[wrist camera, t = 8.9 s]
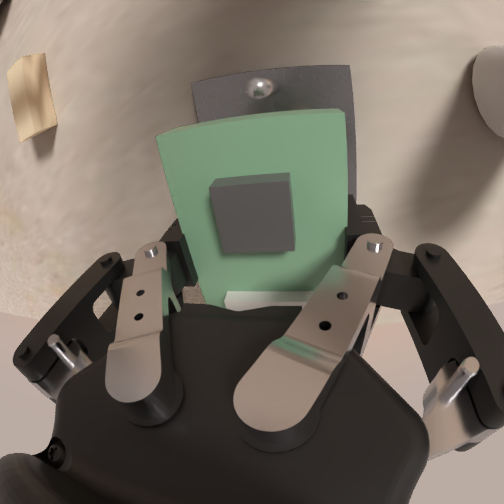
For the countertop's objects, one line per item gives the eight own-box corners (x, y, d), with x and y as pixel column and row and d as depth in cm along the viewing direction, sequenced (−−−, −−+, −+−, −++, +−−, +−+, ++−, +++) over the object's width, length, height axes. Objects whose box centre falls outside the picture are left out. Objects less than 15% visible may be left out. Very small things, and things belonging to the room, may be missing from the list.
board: (174, 128, 9) (143, 142, 8) (338, 108, 8) (349, 116, 6) (225, 316, 15) (214, 349, 13) (336, 317, 14) (338, 353, 12)
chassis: (196, 82, 16) (148, 87, 10) (347, 66, 14) (371, 57, 8) (231, 252, 23) (210, 307, 18) (351, 249, 21) (362, 307, 16)
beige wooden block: (28, 66, 15) (6, 71, 12) (44, 53, 14) (21, 56, 12) (41, 133, 19) (20, 143, 17) (57, 123, 18) (35, 133, 16)
